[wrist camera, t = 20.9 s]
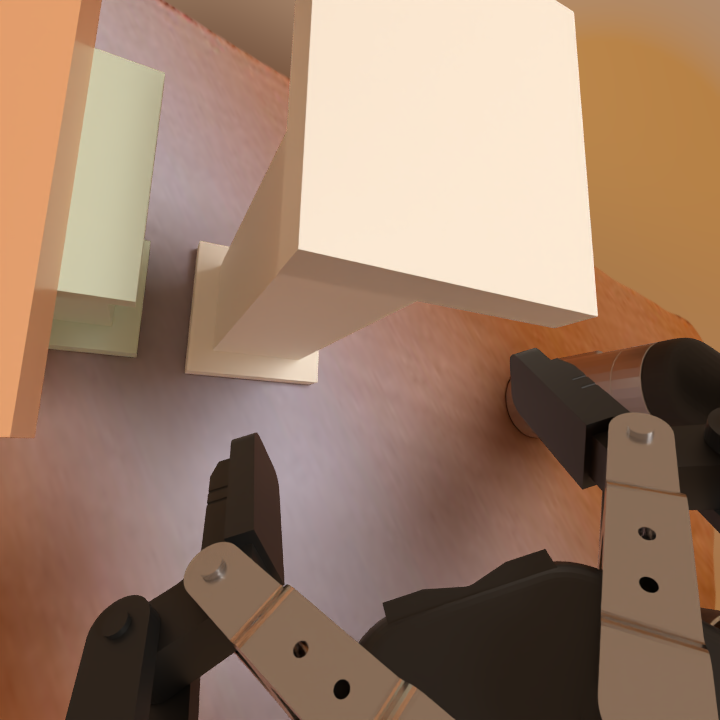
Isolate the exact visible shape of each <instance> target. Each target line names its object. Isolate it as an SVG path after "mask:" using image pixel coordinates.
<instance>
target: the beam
mask: <svg viewBox="0 0 720 720" xmlns="http://www.w3.org/2000/svg"><path fill="white" fill-rule="evenodd" d="M101 2H102V0H0V437H3V438H35V433H36V426H37V420H38V413H39V406H40V400H41V393H42V387H43V380H44V374H45V367H46V361H47V354H48V348H49V341H50V335H51V328H52V322H53V315H54V309H55V302H56V295H57V289H58V282H59V276H60V269H61V263H62V256H63V250H64V243H65V237H66V230H67V224H68V217H69V211H70V204H71V198H72V191H73V184H74V178H75V171H76V165H77V158H78V152H79V145H80V139H81V132H82V126H83V119H84V113H85V106H86V100H87V93H88V87H89V80H90V73H91V67H92V60H93V54H94V47H95V41H96V34H97V28H98V21H99V15H100V8H101Z"/></svg>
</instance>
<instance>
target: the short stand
mask: <svg viewBox="0 0 720 720" xmlns="http://www.w3.org/2000/svg"><path fill="white" fill-rule="evenodd" d="M164 78H165V73H164V72H161V71H158V70H155V69H153V68H150V67H147V66H144V65H141V64H138V63H136V62H133V61H130V60H127V59H124V58H121V57H119V56H116V55H113V54H110V53H107V52H105V51H102V50H99V49H96V48H94V54H93V60H92V67H91V73H90V80H89V87H88V93H87V100H86V106H85V113H84V119H83V126H82V132H81V139H80V145H79V152H78V158H77V165H76V171H75V178H74V184H73V191H72V198H71V204H70V211H69V217H68V224H67V230H66V237H65V243H64V250H63V256H62V263H61V269H60V276H59V282H58V289H57V295H56V302H55V309H54V315H53V322H52V328H51V335H50V341H49V348H48V349H55V350H65V351H76V352H86V353H96V354H106V355H116V356H126V357H137V349H138V341H139V333H140V325H141V317H142V309H143V301H144V293H145V285H146V277H147V269H148V261H149V253H150V242H151V241H147V240H144V238H145V230H146V222H147V214H148V206H149V199H150V191H151V183H152V175H153V167H154V159H155V152H156V144H157V136H158V128H159V120H160V112H161V105H162V97H163V89H164Z"/></svg>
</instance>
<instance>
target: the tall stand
mask: <svg viewBox="0 0 720 720" xmlns="http://www.w3.org/2000/svg"><path fill="white" fill-rule="evenodd" d="M416 301H419V302H424V303H429V304H434V305H440V306H445V307H450V308H455V309H460V310H465V311H470V312H475V313H480V314H485V315H491V316H496V317H501V318H506V319H511V320H516V321H521V322H526V323H531V324H536V325H542V326H547V327H552V328H557V327H560V326H564V325H568V324H571V323H575V322H579V321H583V320H586V319H590V318H594V317H597V316H598V313H597V300H596V287H595V275H594V263H593V250H592V237H591V224H590V211H589V200H588V186H587V173H586V161H585V148H584V135H583V123H582V110H581V97H580V85H579V71H578V59H577V46H576V34H575V21H574V12H573V11H571V10H569V9H568V8H567V7H565V6H563V5H562V4H560V3H559V2H557V1H556V0H295V12H294V26H293V41H292V57H291V73H290V87H289V102H288V118H287V131H286V133H285V135H284V137H283V139H282V141H281V143H280V145H279V147H278V149H277V151H276V153H275V156H274V158H273V160H272V162H271V164H270V166H269V168H268V170H267V172H266V174H265V176H264V178H263V180H262V182H261V184H260V186H259V188H258V190H257V192H256V194H255V196H254V198H253V201H252V203H251V205H250V207H249V209H248V211H247V213H246V215H245V217H244V219H243V221H242V223H241V225H240V227H239V229H238V231H237V233H236V235H235V237H234V239H233V241H232V243H231V245H230V247H227V246H223V245H218V244H213V243H208V242H204V241H200V242H199V245H198V248H197V256H196V266H195V276H194V285H193V295H192V305H191V315H190V324H189V334H188V344H187V353H186V363H185V373H186V374H197V375H208V376H219V377H230V378H241V379H252V380H264V381H275V382H286V383H297V384H308V385H311V384H314V383H317V378H318V355H319V350H320V349H322V348H324V347H326V346H328V345H330V344H332V343H334V342H336V341H338V340H340V339H342V338H344V337H346V336H348V335H350V334H352V333H354V332H356V331H358V330H360V329H362V328H364V327H366V326H368V325H370V324H372V323H374V322H376V321H378V320H380V319H382V318H384V317H386V316H388V315H390V314H392V313H394V312H396V311H398V310H400V309H402V308H404V307H406V306H408V305H410V304H412V303H414V302H416Z"/></svg>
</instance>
